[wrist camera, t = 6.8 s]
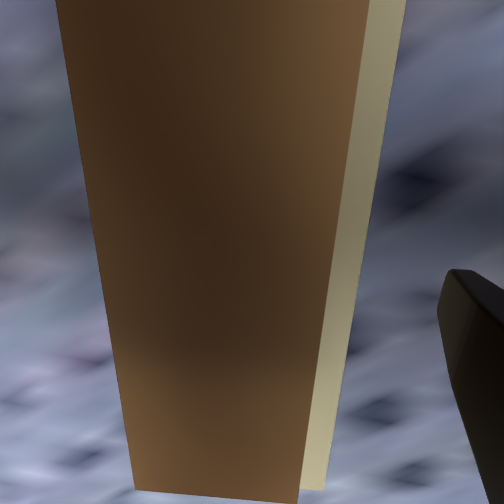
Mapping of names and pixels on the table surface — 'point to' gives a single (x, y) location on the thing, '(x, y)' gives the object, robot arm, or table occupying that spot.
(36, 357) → the table surface
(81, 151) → the slat
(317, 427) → the board
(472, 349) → the robot arm
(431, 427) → the table surface
